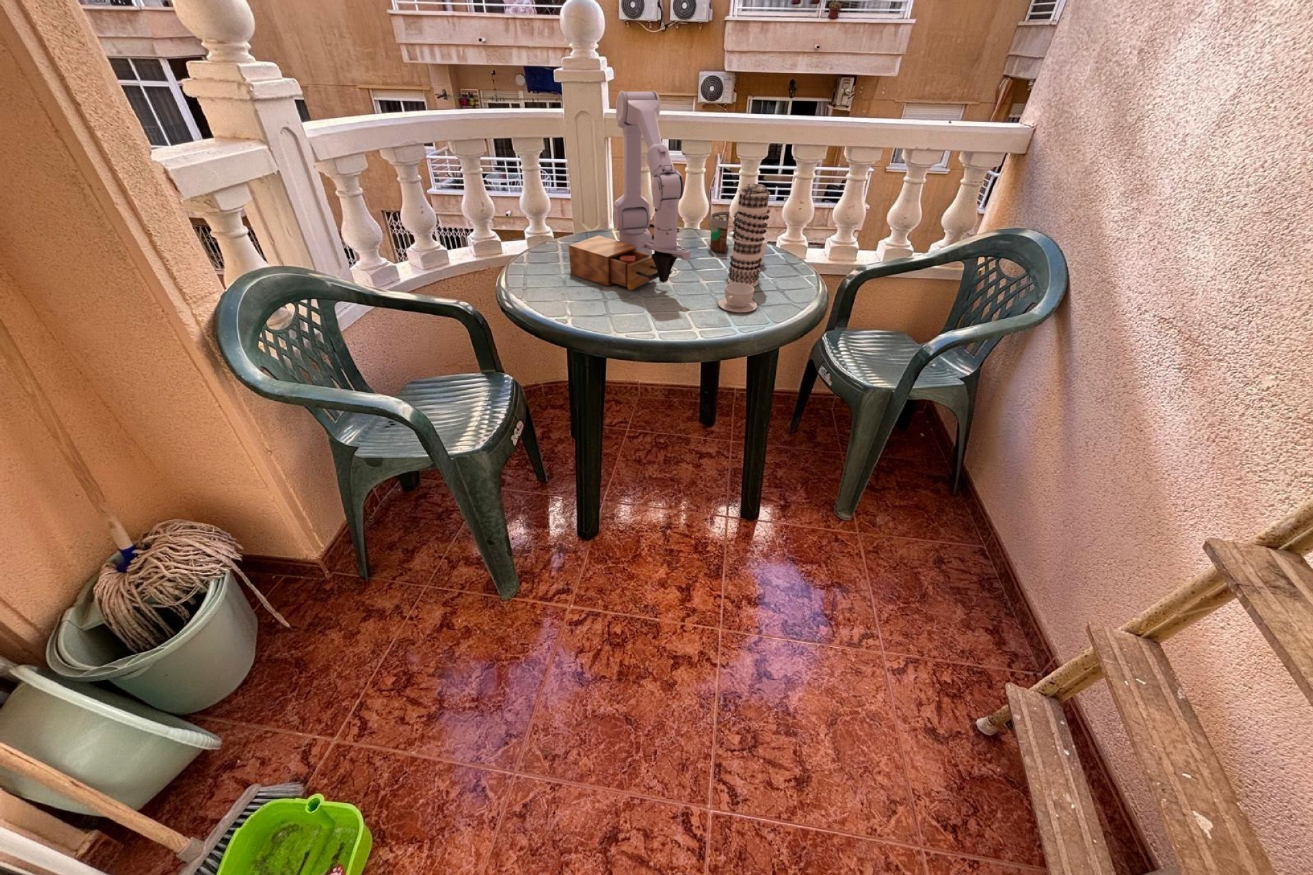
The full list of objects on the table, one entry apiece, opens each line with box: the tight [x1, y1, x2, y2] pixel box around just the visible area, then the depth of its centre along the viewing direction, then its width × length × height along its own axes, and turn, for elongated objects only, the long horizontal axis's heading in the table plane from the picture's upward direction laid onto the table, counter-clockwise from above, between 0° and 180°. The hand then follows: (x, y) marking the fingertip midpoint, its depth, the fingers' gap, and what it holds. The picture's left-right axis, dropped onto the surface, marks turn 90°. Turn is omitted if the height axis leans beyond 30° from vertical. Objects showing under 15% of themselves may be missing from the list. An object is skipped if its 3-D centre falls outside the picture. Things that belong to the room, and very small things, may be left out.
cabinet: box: [568, 235, 637, 287], centre depth 149 cm, size 14×12×8 cm
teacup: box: [717, 283, 758, 313], centre depth 134 cm, size 10×10×5 cm
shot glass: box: [760, 238, 769, 266], centre depth 160 cm, size 7×7×7 cm
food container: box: [708, 211, 730, 254], centre depth 170 cm, size 12×6×10 cm, turn 172°
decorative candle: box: [727, 183, 771, 288], centre depth 142 cm, size 9×9×25 cm
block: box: [620, 255, 635, 265], centre depth 145 cm, size 4×4×5 cm
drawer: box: [608, 250, 659, 291], centre depth 144 cm, size 19×11×6 cm, turn 52°
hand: (663, 281), depth 139 cm, fingers closed
